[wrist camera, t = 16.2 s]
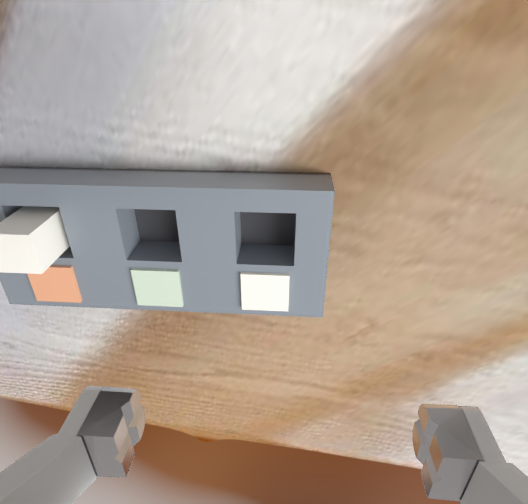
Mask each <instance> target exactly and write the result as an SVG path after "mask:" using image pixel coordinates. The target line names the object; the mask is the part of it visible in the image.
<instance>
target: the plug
mask: <svg viewBox="0 0 528 504" xmlns="http://www.w3.org/2000/svg"><path fill="white" fill-rule="evenodd" d="M69 246H70V244H69V240H68V237H67V234H66V230H65V227H64V223H63V220H62V216H61V213H60V210H59V207H39V206H23V207H22V208H20V209H19V210H17V211H16V212H14V213H13V214H11V215H10V216H9V217H7V218H6V219H4V220H3V221H1V222H0V272H2V273H28V274H43V273H44V272H45V271H46V270H47V269H48V268H49V267H50V266H51V265H52V264H53V263H54V262H55V261H56V260H57V258H58V257H59V256H60V255H61V254H62V253H63V252H64V251H65V250H66V249H67V248H68V247H69Z"/></svg>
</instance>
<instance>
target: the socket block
mask: <svg viewBox="0 0 528 504" xmlns="http://www.w3.org/2000/svg"><path fill="white" fill-rule="evenodd" d="M334 192H335V191H334V186H333V182H332V177H331V174H328V173H280V172H232V171H184V170H136V169H88V168H40V167H0V222H1V221H3V220H4V219H6V218H7V217H9V216H10V215H11V214H13V213H14V212H16V211H17V210H19V209H20V208H22V207H23V206H39V207H59V210H60V213H61V216H62V220H63V223H64V227H65V230H66V234H67V237H68V240H69V244H70V246H69V247H68V248H67V249H66V250H65V251H64V252H63V253H62V254H61V255H60V256H59V257H58V258H57V260H56V261H55V262H54V263H53V264H52V265H51V266H50V267H49V268H48V269H47V270H46V271H45V272H44V273H43V274H28V273H2V272H0V281H1V284H2V286H3V288H4V291H5V293H6V296H7V298H8V300H9V303H10V304H23V305H46V306H70V307H93V308H116V309H140V310H163V311H186V312H210V313H233V314H256V315H280V316H303V317H323V309H324V298H325V288H326V277H327V266H328V256H329V245H330V235H331V224H332V214H333V203H334Z"/></svg>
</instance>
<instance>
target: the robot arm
mask: <svg viewBox="0 0 528 504" xmlns="http://www.w3.org/2000/svg"><path fill="white" fill-rule="evenodd" d="M140 400H141V394H140V390H139V389H128V388H115V387H103V386H87V387H86V388H85V389H84V390H83V391H82V393H81V394H80V396H79V398H78V400H77V401H76V403H75V405H74V407H73V408H72V410H71V412H70V414H69V415H68V417H67V419H66V421H65V422H64V424H63V426H62V427H61V429H60V431H59V433H58V434H57V435H51V436H50V437H48V438H47V439H46V440H44V441H43V442H42V443H40V444H39V445H37V446H36V447H35V448H33V449H32V450H31V451H29V452H28V453H26V454H25V455H24V456H23V457H21V458H20V459H19V460H17V461H16V462H15V463H13V464H12V465H10V466H9V467H8V468H6V469H5V470H3V471H2V472H1V473H0V504H72V503H73V502H74V501H75V500H76V499H77V498H78V497H79V496H80V495H81V494H82V493H83V492H84V491H85V490H86V489H87V488H88V487H89V486H90V485H91V484H92V483H93V482H94V481H95V480H96V479H97V477H96V476H105V477H127V474H128V472H129V469H130V466H131V463H132V461H133V458H134V456H135V454H134V450H133V446H134V445H135V444H136V443H137V442H139V441H140V439H141V436H142V433H143V430H144V425H145V410H144V407H143V406H142V405H141V404H140V403H139V402H140ZM418 415H419V418H420V419H419V420H418V421H416V422H415V423H414V427H413V446H414V451H415V455H416V458H417V459H418V460H419V461H420V462H421V463H422V464H423V468H422V471H421V476H422V480H423V483H424V486H425V490H426V494H427V498H433V499H443V500H453V501H461V502H460V504H528V477H527V476H526V475H525V474H524V473H523V472H522V471H520V470H519V469H518V468H517V467H516V466H515V465H513V464H512V463H506V461H505V459H504V457H503V455H502V453H501V451H500V449H499V446H498V444H497V442H496V440H495V438H494V436H493V434H492V432H491V430H490V428H489V426H488V424H487V422H486V420H485V418H484V415H483V413H482V411H481V410H480V409H479V408H478V407H470V406H457V405H434V404H422V405H421V406H420V407H419V410H418Z"/></svg>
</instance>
